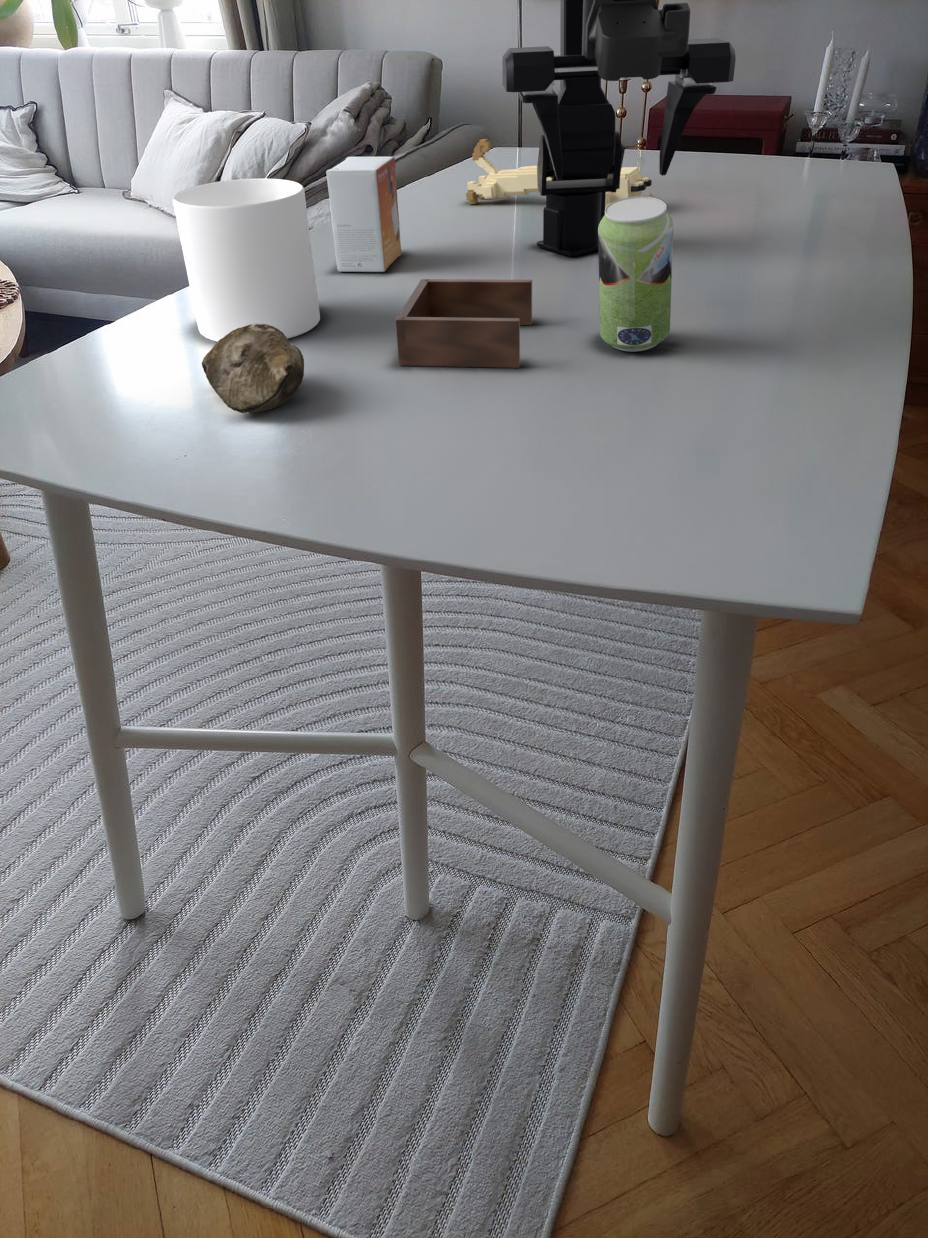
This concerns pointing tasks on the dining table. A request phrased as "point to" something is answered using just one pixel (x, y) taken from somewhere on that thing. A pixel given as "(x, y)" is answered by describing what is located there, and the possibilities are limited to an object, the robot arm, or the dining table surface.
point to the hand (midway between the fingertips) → (610, 176)
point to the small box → (364, 213)
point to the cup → (248, 255)
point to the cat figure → (526, 180)
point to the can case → (464, 323)
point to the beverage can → (635, 273)
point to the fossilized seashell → (254, 368)
